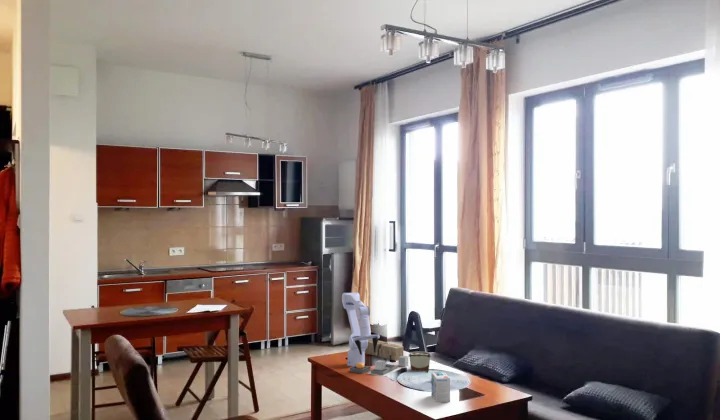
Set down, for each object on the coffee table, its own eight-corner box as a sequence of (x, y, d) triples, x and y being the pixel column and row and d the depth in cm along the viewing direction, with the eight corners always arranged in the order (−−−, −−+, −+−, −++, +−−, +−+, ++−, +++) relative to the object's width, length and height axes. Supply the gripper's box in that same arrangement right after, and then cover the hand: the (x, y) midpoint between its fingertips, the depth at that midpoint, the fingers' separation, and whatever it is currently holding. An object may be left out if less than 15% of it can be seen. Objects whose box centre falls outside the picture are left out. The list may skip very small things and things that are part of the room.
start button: (354, 369, 304) (354, 363, 304) (358, 367, 308) (358, 362, 308) (361, 370, 302) (361, 364, 302) (365, 368, 305) (365, 363, 305)
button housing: (350, 373, 303) (350, 367, 303) (357, 370, 310) (357, 364, 310) (362, 375, 299) (362, 369, 299) (370, 372, 306) (370, 366, 306)
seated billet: (375, 372, 300) (375, 361, 301) (378, 371, 304) (378, 360, 304) (381, 373, 298) (381, 362, 298) (385, 372, 302) (385, 360, 302)
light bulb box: (431, 395, 264) (430, 372, 265) (445, 394, 265) (445, 371, 265) (436, 402, 254) (435, 378, 254) (450, 402, 254) (450, 377, 254)
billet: (398, 367, 315) (398, 357, 315) (401, 366, 318) (401, 355, 319) (405, 368, 313) (405, 357, 313) (408, 367, 316) (408, 356, 317)
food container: (431, 369, 311) (430, 351, 311) (431, 372, 305) (431, 353, 305) (408, 369, 312) (408, 351, 312) (408, 372, 306) (408, 353, 306)
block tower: (405, 360, 336) (372, 350, 358) (405, 346, 336) (372, 337, 358) (395, 362, 331) (362, 352, 353) (396, 348, 331) (363, 339, 353)
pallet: (366, 375, 300) (366, 370, 300) (383, 367, 316) (383, 362, 316) (385, 378, 294) (385, 373, 294) (401, 369, 310) (401, 365, 310)
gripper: (350, 329, 306) (353, 354, 301) (376, 325, 304) (380, 350, 299) (353, 331, 313) (356, 356, 307) (378, 327, 311) (382, 352, 305)
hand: (368, 353), depth 303 cm, fingers open, 7 cm apart
